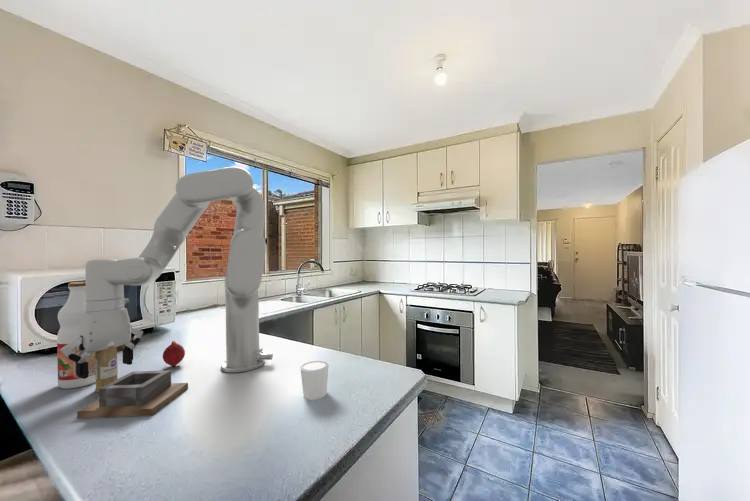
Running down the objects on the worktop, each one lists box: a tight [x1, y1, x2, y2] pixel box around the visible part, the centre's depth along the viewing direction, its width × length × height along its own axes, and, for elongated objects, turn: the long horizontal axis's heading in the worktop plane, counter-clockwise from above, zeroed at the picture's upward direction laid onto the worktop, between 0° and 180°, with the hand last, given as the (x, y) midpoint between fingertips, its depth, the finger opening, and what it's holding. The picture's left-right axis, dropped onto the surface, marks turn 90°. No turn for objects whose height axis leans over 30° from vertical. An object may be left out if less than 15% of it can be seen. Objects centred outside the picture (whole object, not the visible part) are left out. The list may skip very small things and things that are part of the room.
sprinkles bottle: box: [94, 341, 119, 393], centre depth 79 cm, size 5×5×14 cm
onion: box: [162, 340, 186, 367], centre depth 94 cm, size 6×6×8 cm
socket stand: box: [76, 369, 189, 419], centre depth 72 cm, size 16×13×6 cm
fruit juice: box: [56, 281, 96, 390], centre depth 84 cm, size 9×9×28 cm
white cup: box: [300, 360, 330, 401], centre depth 74 cm, size 7×7×7 cm
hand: (106, 370), depth 79 cm, fingers open, 9 cm apart
